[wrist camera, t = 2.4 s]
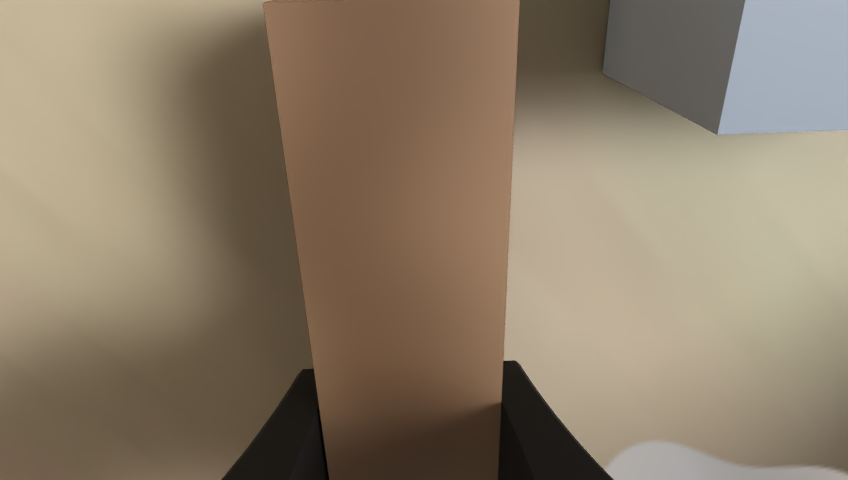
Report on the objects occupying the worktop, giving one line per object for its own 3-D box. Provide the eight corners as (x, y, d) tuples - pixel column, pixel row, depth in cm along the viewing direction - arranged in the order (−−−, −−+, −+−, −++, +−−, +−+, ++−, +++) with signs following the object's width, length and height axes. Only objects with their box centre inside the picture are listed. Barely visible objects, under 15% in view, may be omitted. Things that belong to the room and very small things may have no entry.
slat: (480, -15, 10) (520, -5, 7) (470, 559, 17) (488, 691, 14) (302, -10, 10) (263, 3, 7) (365, 565, 17) (359, 700, 14)
